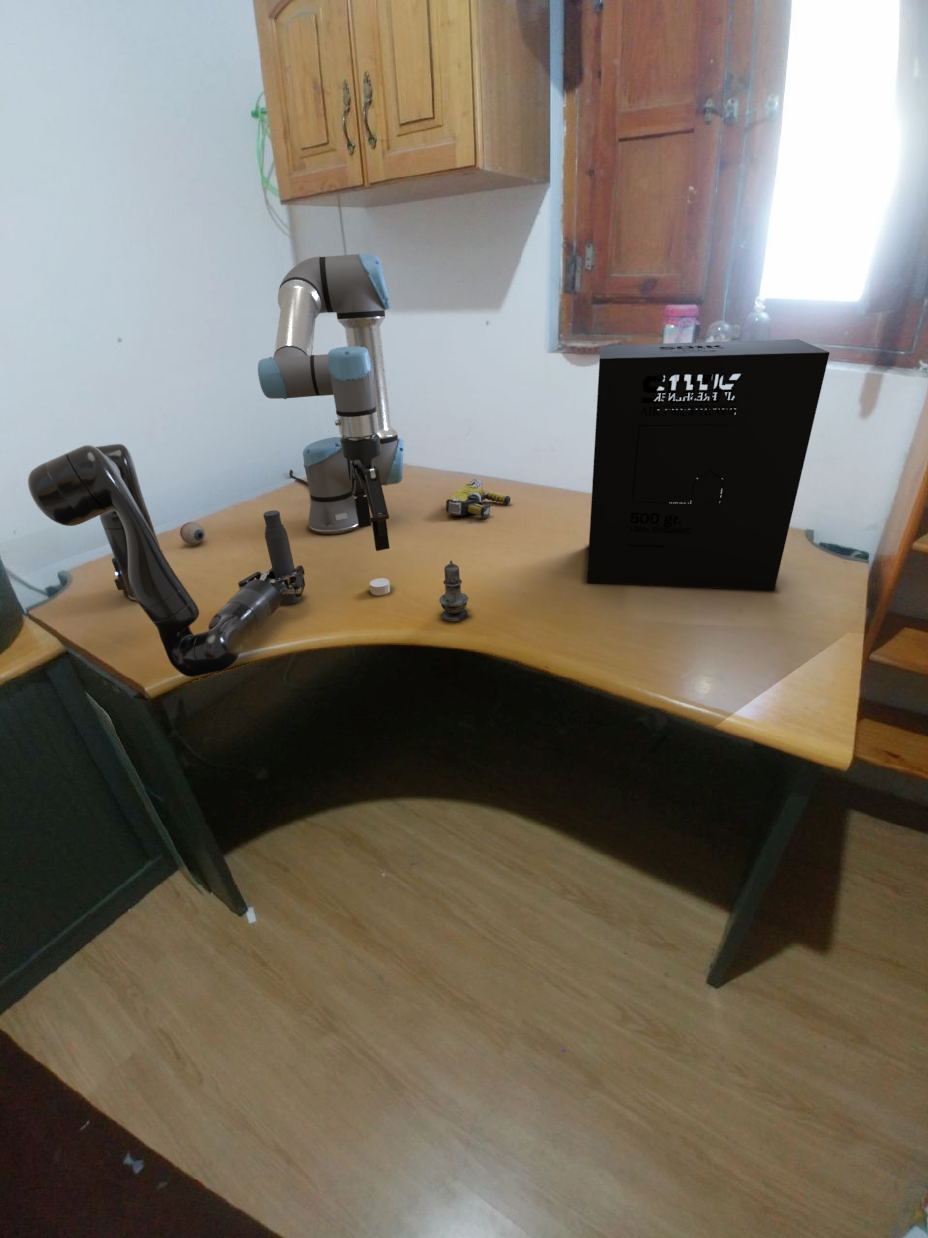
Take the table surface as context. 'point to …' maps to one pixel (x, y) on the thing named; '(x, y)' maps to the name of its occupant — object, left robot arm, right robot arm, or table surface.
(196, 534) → the eyeball
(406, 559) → the table surface
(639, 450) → the cardboard box
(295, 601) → the bottle
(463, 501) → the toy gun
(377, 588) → the cap
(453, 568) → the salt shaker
